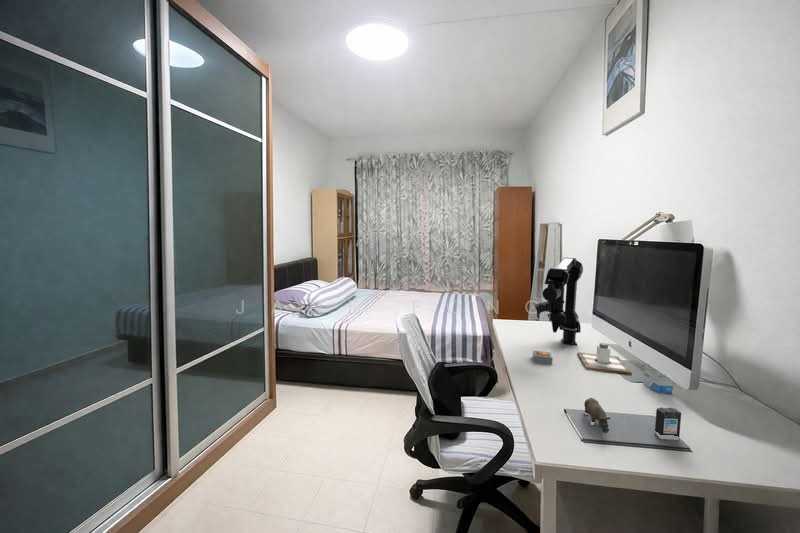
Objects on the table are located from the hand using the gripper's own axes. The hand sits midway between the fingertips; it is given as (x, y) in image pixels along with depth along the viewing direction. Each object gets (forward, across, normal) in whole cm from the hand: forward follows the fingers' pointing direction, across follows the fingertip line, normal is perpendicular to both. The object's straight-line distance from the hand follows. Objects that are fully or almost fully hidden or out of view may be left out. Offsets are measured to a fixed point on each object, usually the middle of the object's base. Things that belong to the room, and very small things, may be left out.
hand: (554, 332), depth 151 cm
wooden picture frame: (+12, +1, +19) cm, 22 cm away
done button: (+11, +6, -5) cm, 13 cm away
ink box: (+11, +20, +32) cm, 40 cm away
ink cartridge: (+10, +55, +22) cm, 60 cm away
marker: (+10, +1, +19) cm, 22 cm away
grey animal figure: (+10, +55, +6) cm, 56 cm away
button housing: (+11, +6, -5) cm, 14 cm away
